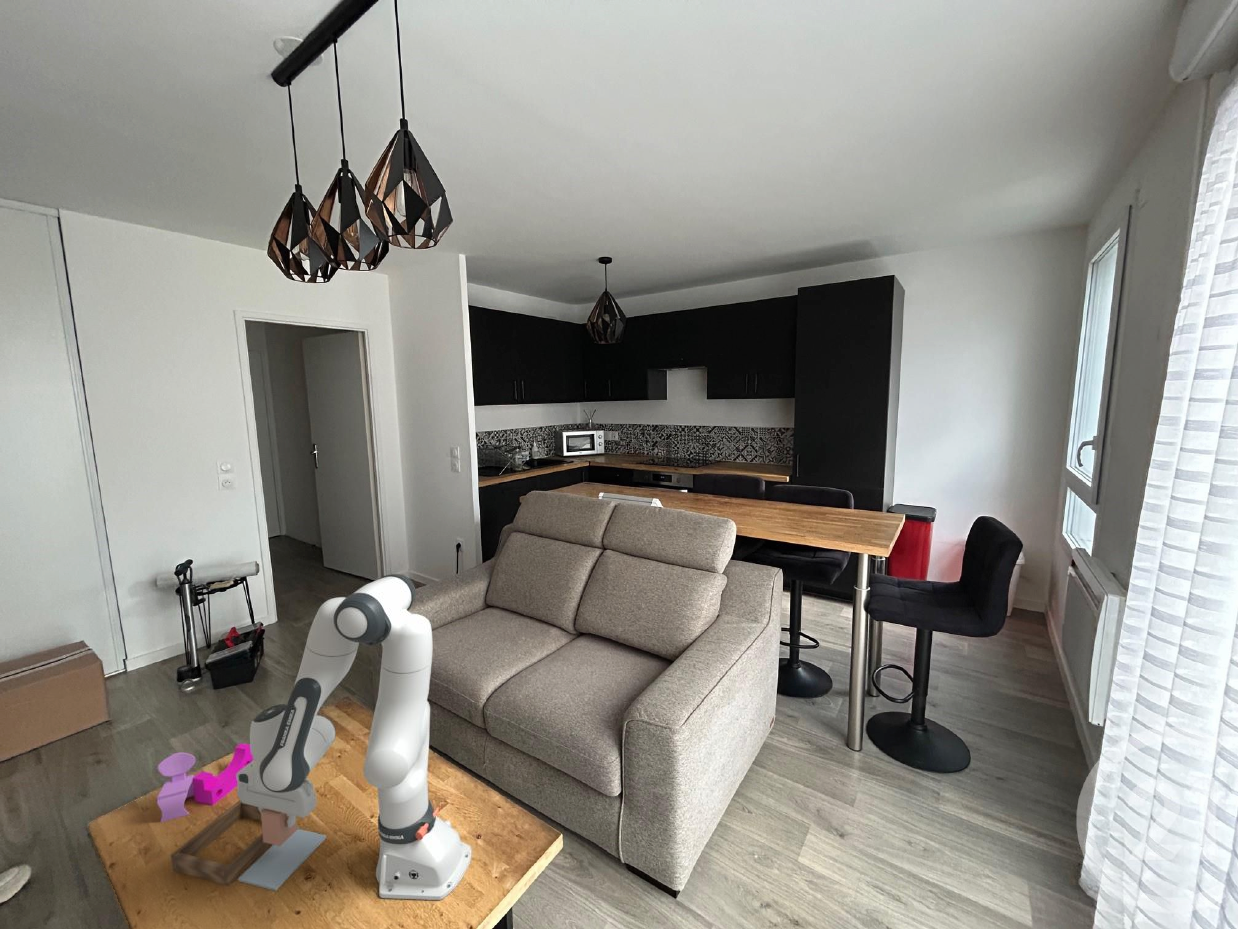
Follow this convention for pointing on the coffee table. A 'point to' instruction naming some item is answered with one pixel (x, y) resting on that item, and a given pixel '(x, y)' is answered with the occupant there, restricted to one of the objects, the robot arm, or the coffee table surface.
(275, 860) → the mat
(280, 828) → the block
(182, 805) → the toy chair
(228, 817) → the wooden frame
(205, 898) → the coffee table surface
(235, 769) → the magenta arched bracket
